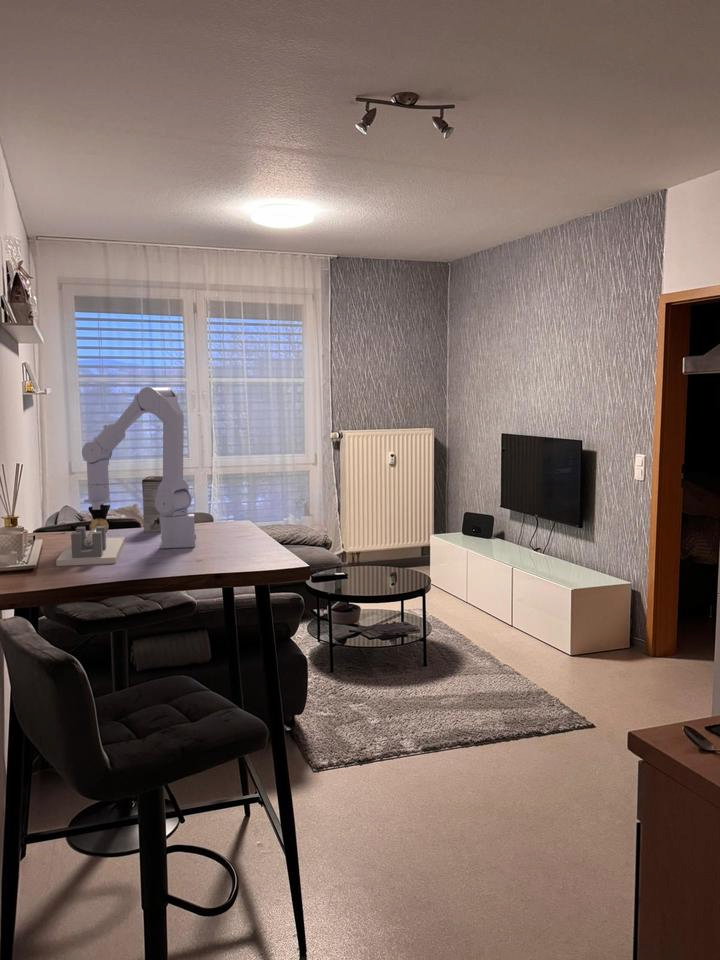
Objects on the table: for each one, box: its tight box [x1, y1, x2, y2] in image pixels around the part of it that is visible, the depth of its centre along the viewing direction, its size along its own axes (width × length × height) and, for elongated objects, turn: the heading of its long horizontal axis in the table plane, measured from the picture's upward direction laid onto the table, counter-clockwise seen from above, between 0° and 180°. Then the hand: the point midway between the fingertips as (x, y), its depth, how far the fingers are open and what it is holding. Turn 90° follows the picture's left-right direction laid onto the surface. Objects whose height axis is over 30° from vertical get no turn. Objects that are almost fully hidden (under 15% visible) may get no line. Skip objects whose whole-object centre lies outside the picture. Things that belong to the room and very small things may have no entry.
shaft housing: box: [55, 526, 126, 567], centre depth 205 cm, size 14×27×8 cm, turn 12°
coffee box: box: [141, 475, 163, 533], centre depth 240 cm, size 9×6×16 cm
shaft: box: [84, 518, 109, 547], centre depth 209 cm, size 5×23×5 cm, turn 12°
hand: (100, 530), depth 222 cm, fingers closed
